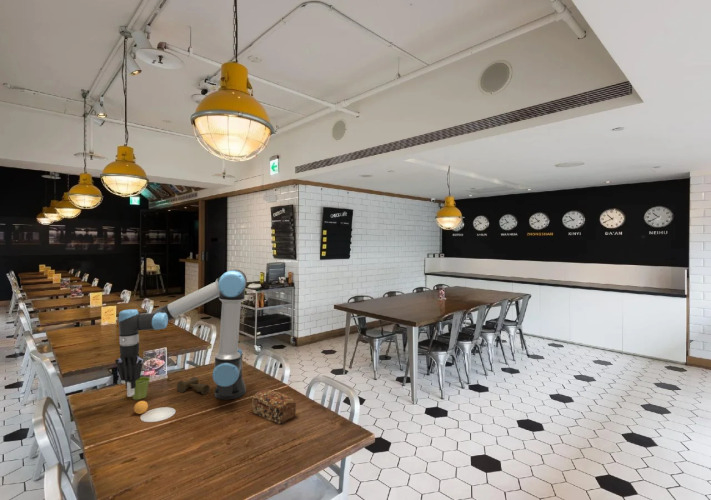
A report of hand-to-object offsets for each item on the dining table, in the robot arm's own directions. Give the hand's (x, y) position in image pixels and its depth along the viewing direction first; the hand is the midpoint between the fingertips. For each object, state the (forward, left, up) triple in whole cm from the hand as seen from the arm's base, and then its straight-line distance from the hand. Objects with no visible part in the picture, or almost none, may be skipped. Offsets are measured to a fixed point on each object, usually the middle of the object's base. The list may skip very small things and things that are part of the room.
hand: (130, 395), depth 167 cm
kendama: (-14, -28, -9) cm, 32 cm away
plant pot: (+8, -16, -8) cm, 19 cm away
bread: (-65, -6, -8) cm, 66 cm away
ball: (-5, 0, -5) cm, 7 cm away
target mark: (-13, 0, -8) cm, 16 cm away
